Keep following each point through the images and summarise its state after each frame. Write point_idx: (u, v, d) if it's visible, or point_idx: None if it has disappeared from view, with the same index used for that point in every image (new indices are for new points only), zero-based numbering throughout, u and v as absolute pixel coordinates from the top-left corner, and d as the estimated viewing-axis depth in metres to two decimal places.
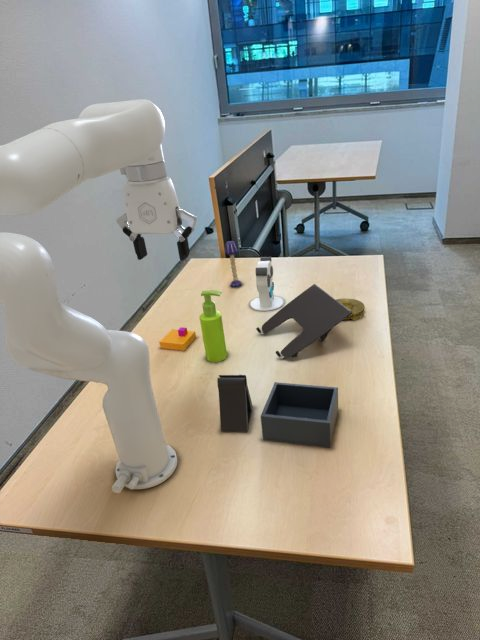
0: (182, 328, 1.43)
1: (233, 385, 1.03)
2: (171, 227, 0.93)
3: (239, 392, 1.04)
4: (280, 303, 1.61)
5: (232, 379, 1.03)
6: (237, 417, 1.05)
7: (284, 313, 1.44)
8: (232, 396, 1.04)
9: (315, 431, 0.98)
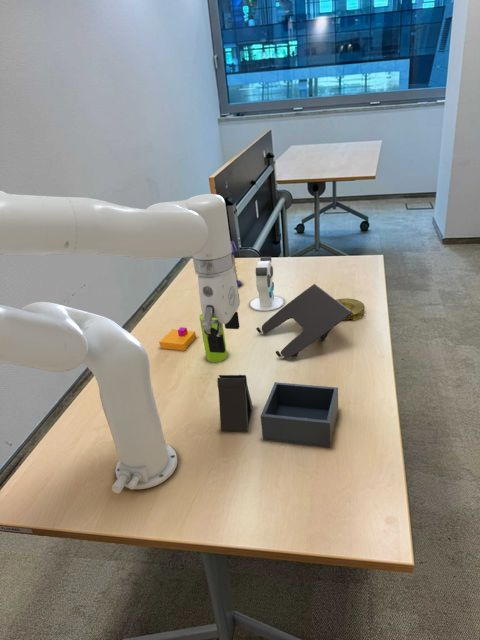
0: (182, 328, 1.43)
1: (233, 385, 1.03)
2: (239, 299, 0.99)
3: (239, 392, 1.04)
4: (280, 303, 1.61)
5: (232, 379, 1.03)
6: (237, 417, 1.05)
7: (284, 313, 1.44)
8: (232, 396, 1.04)
9: (315, 431, 0.98)
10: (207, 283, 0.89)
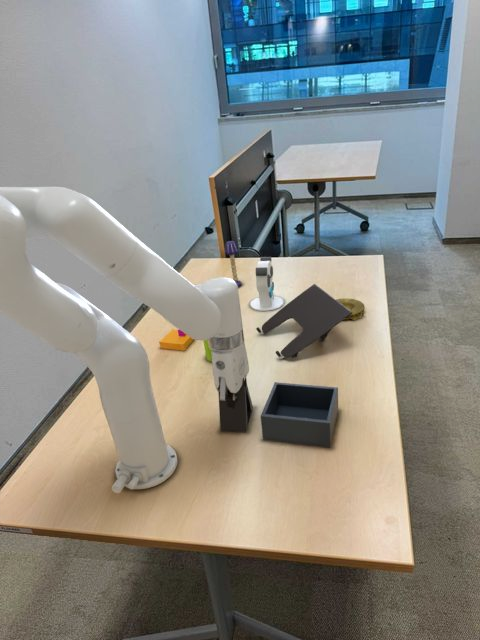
0: None
1: None
2: (248, 366, 1.07)
3: (239, 392, 1.04)
4: (280, 303, 1.61)
5: None
6: (236, 417, 1.05)
7: (284, 313, 1.44)
8: None
9: (315, 431, 0.98)
10: (220, 358, 0.96)
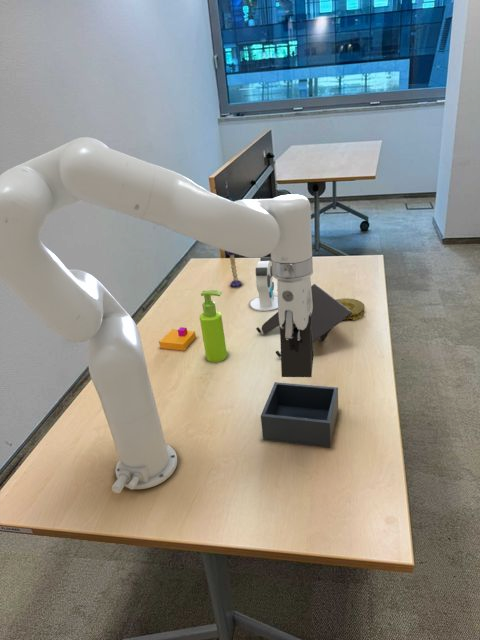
0: (182, 328, 1.43)
1: None
2: (312, 304, 0.95)
3: (303, 332, 0.93)
4: None
5: None
6: (300, 360, 0.94)
7: None
8: None
9: (315, 431, 0.98)
10: (288, 287, 0.85)
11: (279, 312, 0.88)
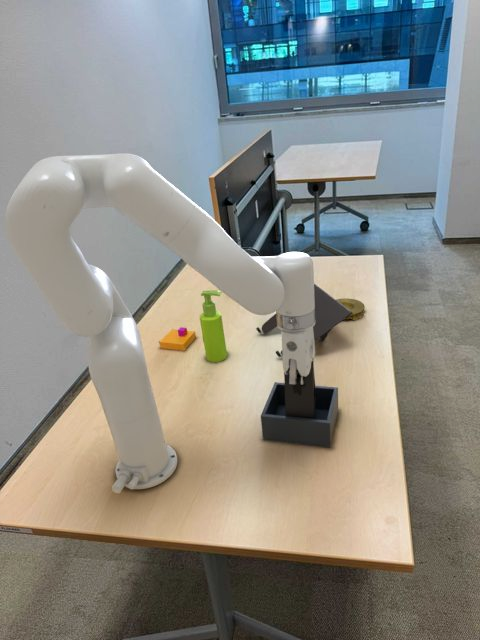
0: (182, 328, 1.43)
1: None
2: None
3: (306, 376, 0.98)
4: None
5: None
6: (303, 403, 0.99)
7: None
8: None
9: (315, 431, 0.98)
10: (292, 338, 0.90)
11: (283, 360, 0.93)
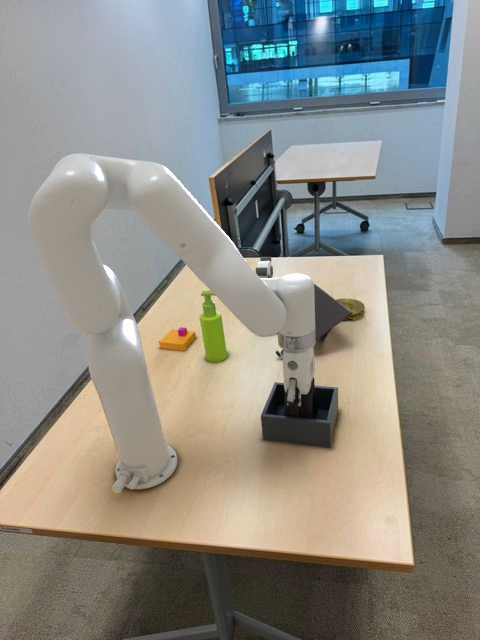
0: (182, 328, 1.43)
1: None
2: (314, 366, 1.03)
3: (306, 394, 1.00)
4: None
5: None
6: None
7: None
8: None
9: (315, 431, 0.98)
10: (292, 358, 0.92)
11: (284, 378, 0.95)
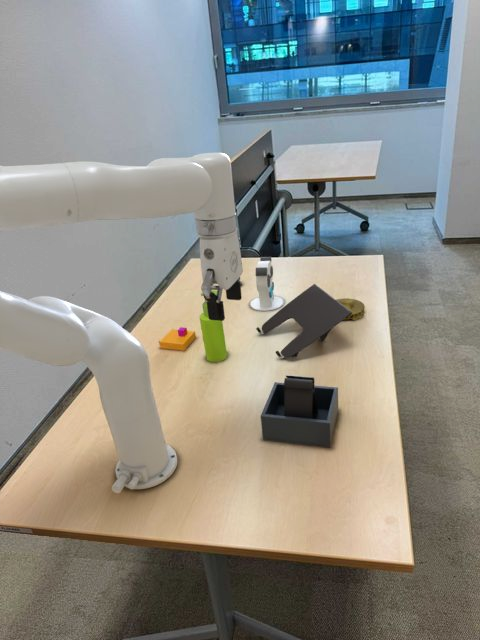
0: (182, 328, 1.43)
1: (301, 387, 1.00)
2: (242, 268, 0.96)
3: (306, 394, 1.00)
4: (280, 303, 1.61)
5: (299, 380, 1.00)
6: None
7: (284, 313, 1.44)
8: (298, 398, 1.01)
9: (315, 431, 0.98)
10: (208, 245, 0.86)
11: (202, 271, 0.88)
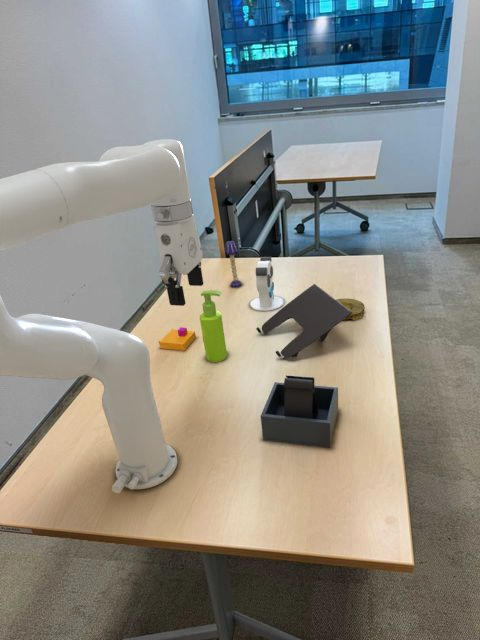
0: (182, 328, 1.43)
1: (301, 387, 1.00)
2: None
3: (306, 394, 1.00)
4: (280, 303, 1.61)
5: (299, 380, 1.00)
6: None
7: (284, 313, 1.44)
8: (298, 398, 1.01)
9: (315, 431, 0.98)
10: (165, 231, 0.87)
11: (160, 256, 0.90)
